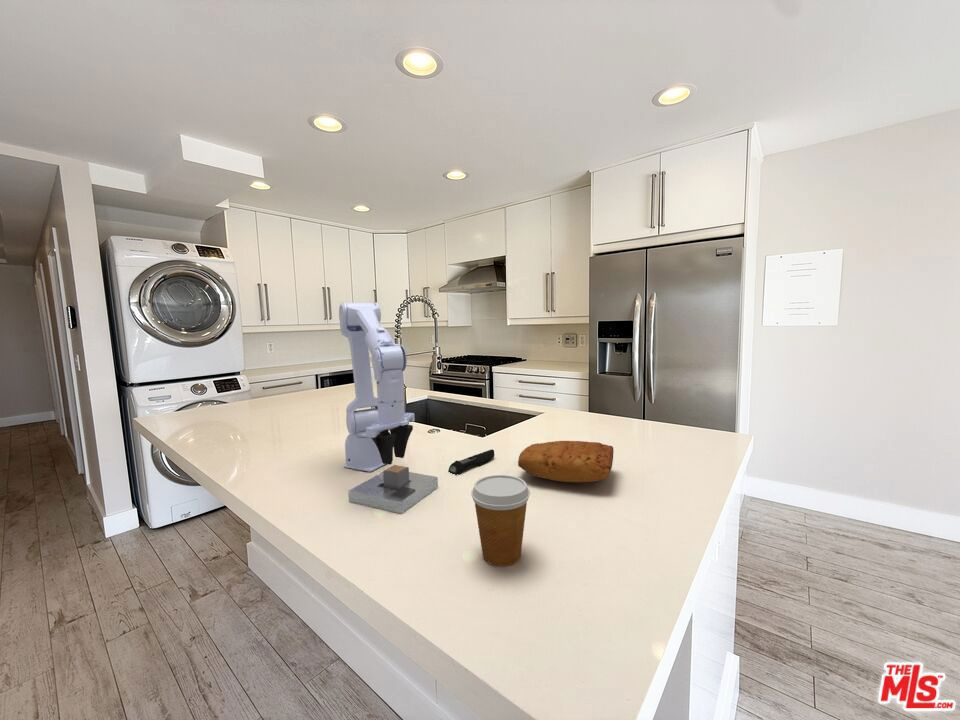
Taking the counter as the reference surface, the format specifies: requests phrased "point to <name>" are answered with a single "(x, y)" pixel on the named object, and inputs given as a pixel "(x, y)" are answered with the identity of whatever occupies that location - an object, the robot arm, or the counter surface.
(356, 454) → the robot arm
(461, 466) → the electric trimmer
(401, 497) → the socket plate
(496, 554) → the disposable coffee cup
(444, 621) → the counter surface
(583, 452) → the baked loaf
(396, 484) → the plug
